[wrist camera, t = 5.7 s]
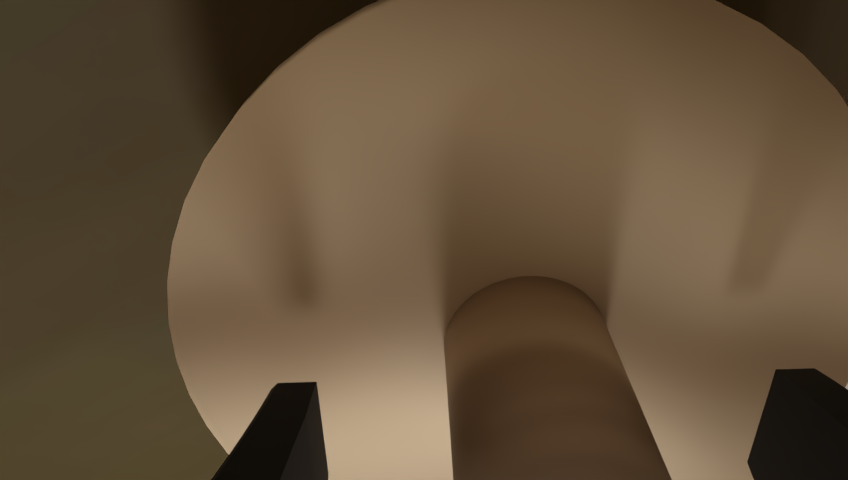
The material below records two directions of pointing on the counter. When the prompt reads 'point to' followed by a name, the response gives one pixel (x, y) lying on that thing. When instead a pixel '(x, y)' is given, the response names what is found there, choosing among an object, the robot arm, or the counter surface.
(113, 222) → the counter surface
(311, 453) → the robot arm
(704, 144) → the lid
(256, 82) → the counter surface
